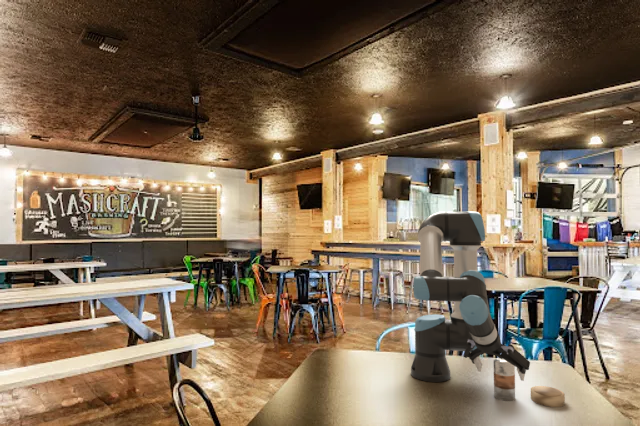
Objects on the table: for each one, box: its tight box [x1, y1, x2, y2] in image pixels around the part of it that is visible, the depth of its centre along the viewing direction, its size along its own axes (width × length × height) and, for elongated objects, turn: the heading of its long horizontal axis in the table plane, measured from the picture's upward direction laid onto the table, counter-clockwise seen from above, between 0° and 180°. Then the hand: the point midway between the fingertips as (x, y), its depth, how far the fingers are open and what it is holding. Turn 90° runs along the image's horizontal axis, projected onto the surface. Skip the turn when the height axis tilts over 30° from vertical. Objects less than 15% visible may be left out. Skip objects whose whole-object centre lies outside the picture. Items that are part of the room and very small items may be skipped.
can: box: [493, 357, 516, 402], centre depth 142 cm, size 7×7×12 cm
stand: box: [530, 385, 566, 408], centre depth 139 cm, size 10×10×3 cm
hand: (501, 372), depth 138 cm, fingers open, 13 cm apart
